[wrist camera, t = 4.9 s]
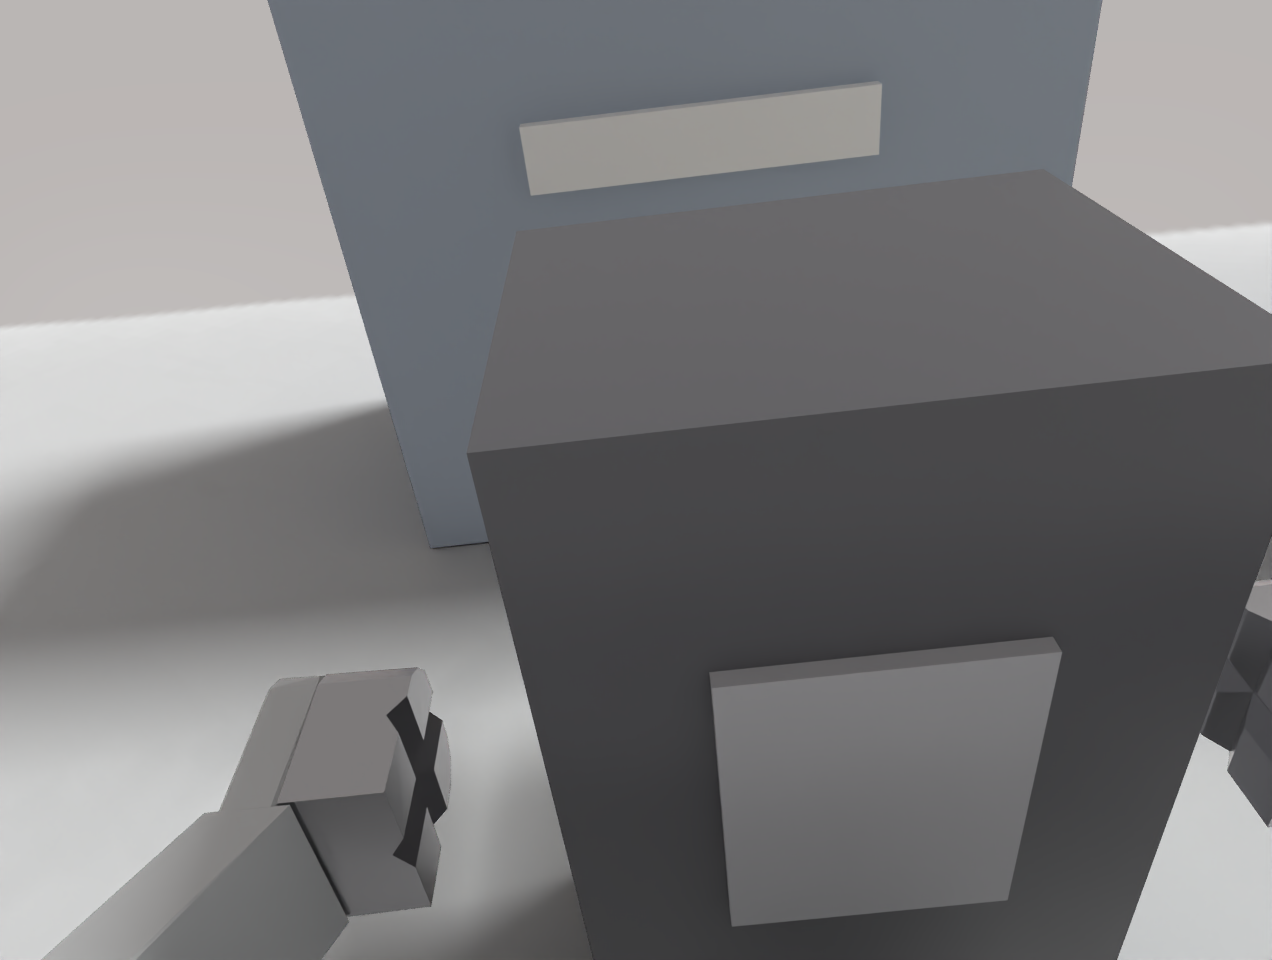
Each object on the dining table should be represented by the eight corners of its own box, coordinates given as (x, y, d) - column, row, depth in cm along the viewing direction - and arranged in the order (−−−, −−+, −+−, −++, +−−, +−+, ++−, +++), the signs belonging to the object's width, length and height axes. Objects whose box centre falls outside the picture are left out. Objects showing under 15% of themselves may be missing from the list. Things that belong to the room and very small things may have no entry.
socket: (428, 556, 21) (253, -27, 14) (471, 382, 28) (368, -58, 22) (1028, 491, 21) (1134, -138, 14) (914, 332, 28) (949, -131, 21)
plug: (642, 1167, 11) (463, 465, 5) (623, 667, 17) (538, 134, 12) (1065, 1129, 11) (1353, 368, 5) (881, 641, 17) (915, 87, 12)
